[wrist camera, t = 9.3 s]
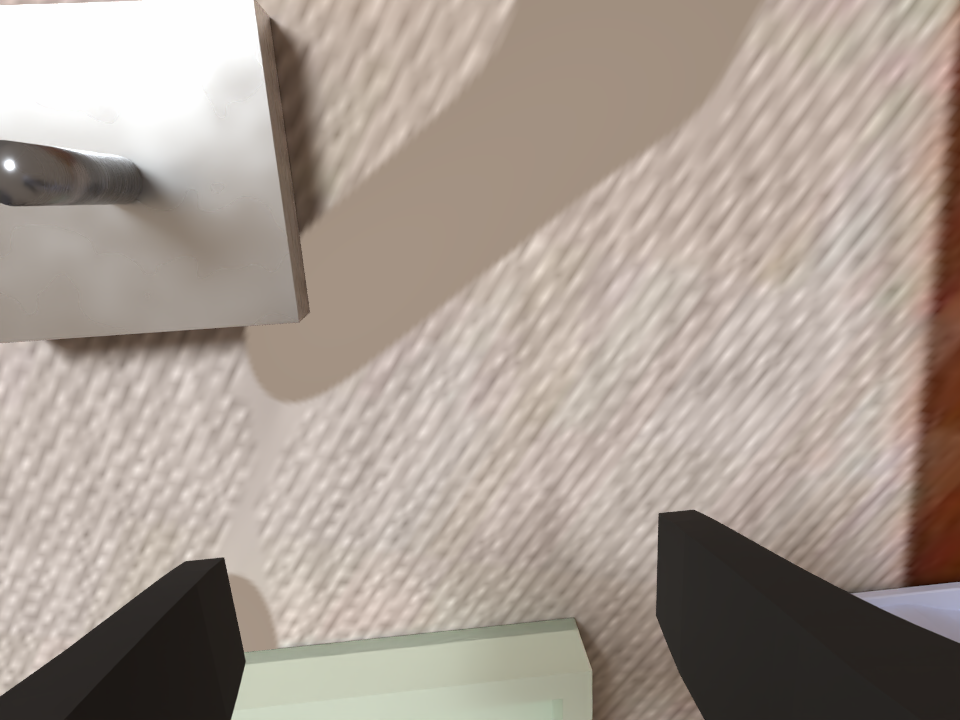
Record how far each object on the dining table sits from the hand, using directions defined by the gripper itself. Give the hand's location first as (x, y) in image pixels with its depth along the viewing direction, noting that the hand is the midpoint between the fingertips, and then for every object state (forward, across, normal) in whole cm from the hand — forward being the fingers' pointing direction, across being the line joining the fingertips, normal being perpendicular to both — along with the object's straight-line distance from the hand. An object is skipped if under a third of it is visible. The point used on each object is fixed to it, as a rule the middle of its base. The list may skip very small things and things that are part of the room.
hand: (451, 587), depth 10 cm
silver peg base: (+10, +8, -7) cm, 14 cm away
